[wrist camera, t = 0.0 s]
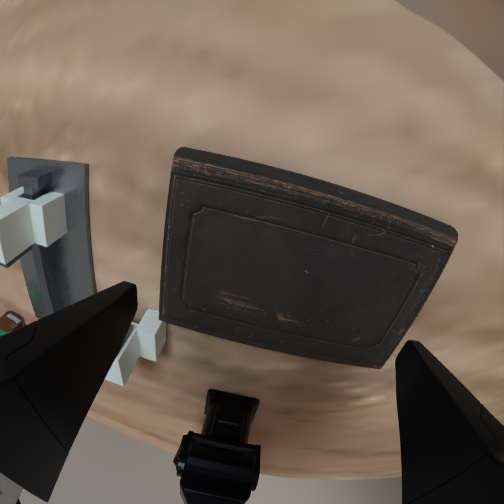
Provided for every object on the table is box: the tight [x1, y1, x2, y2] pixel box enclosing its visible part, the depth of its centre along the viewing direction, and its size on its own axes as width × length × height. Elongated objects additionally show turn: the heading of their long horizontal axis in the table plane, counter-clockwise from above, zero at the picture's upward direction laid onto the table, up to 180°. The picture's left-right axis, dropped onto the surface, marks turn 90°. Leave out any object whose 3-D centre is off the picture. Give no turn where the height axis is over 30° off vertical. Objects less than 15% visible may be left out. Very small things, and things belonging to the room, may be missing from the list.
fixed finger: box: [0, 187, 67, 268], centre depth 21 cm, size 5×7×8 cm
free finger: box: [105, 309, 166, 386], centre depth 26 cm, size 5×7×8 cm
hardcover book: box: [159, 147, 458, 369], centre depth 24 cm, size 16×23×2 cm
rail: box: [7, 157, 96, 319], centre depth 26 cm, size 22×12×3 cm, turn 170°
